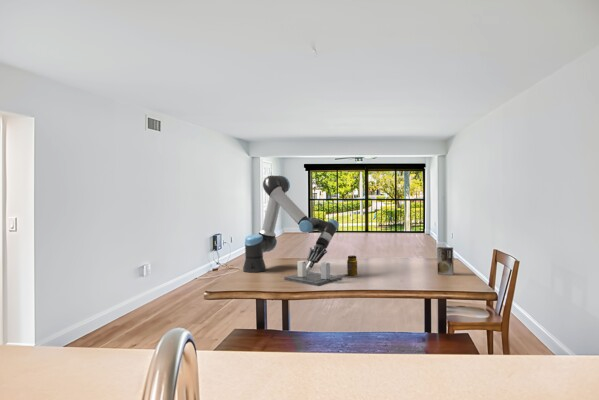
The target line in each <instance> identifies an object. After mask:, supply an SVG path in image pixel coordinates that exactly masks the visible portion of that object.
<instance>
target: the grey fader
mask: <svg viewBox="0 0 599 400" xmlns="http://www.w3.org/2000/svg"><path fill="white" fill-rule="evenodd" d="M330 268H331V263H330V262H327V261H325V262H320V273H321V279H330V275H331V269H330Z"/></svg>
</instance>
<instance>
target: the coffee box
mask: <svg viewBox="0 0 599 400" xmlns="http://www.w3.org/2000/svg"><path fill="white" fill-rule="evenodd" d="M436 254H437V255H436V256H437V257H436V259H437V275H442V276H443V275H444V276H448V275H449V276H454V273H455V272H454V270H455V269H454V247H450V246H449V247H447V246H445V247H444V246H443V247H442V246H439V247H438V246H437V248H436Z"/></svg>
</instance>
